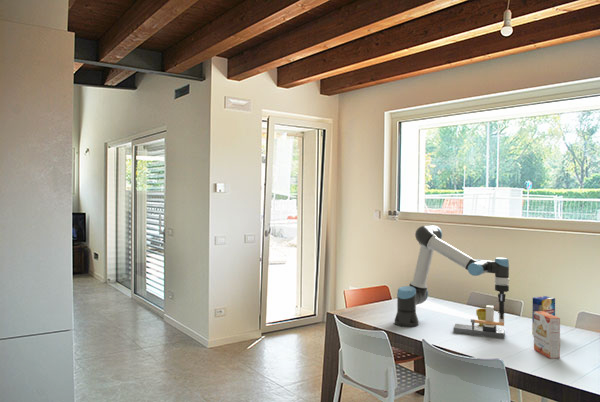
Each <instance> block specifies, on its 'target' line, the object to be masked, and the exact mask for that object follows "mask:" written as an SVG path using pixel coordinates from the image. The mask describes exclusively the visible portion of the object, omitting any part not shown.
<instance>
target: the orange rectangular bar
mask: <svg viewBox="0 0 600 402" xmlns="http://www.w3.org/2000/svg"><path fill="white" fill-rule="evenodd" d="M470 323H471V325H472V329H474V326H475V324H479V323H482V324H491V325H496V326H501V327H502V326H503V327H505V322H504V323H502V322H499V321H494V322H493V321H484V320H478V319H475V318H471V319H470Z"/></svg>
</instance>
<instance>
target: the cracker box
mask: <svg viewBox="0 0 600 402" xmlns="http://www.w3.org/2000/svg"><path fill="white" fill-rule="evenodd" d="M533 349H534V351H536V352H538V353H539V354H541V355H542V356H545V357H547V359H560V358H561V318H560V317H558V316H556V315H555V316H554V315H551V314H549V313H546V312H544V311H535V312H534V335H533Z"/></svg>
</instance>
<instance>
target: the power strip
mask: <svg viewBox="0 0 600 402" xmlns="http://www.w3.org/2000/svg"><path fill="white" fill-rule="evenodd" d="M505 332H506V329H505V328H497V325H495V327H494V328H493V327H485V325H484V324H483V327H482V326H480V325H479V326H478V325H474V329H472V324H462V323H461V324H460V323H455V324H454V325H453V333H455V334H462V335H470V336H476V337H477V336H478V337H486V338H493V339H501V340H503V339H505Z"/></svg>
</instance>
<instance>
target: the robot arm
mask: <svg viewBox="0 0 600 402" xmlns="http://www.w3.org/2000/svg"><path fill="white" fill-rule="evenodd" d="M442 231H443V230H441V228H440V227H439V226H437V225H435V224H434V225H433V224H428V225H422V226H419V227H418V228H417V229H416V230H415V234H414V236H415V240H416V241H417V242H418V244H419V246H420V248H419V251H418V252H419V253H418V257H417V261H416V264H415V265H416V266H415V269H414V270H415V271H414V273H413V278H412V280H411V281H410V282H409V285H405V286H401V287H399V288H397V293H396V296H397V297H396V299H397V300H396V301H397V303H396V305H397V306H396V307H397V311H396V314H395V318H394V325H396V324H397V325H396V326H398V325H399V327H403V326H404V327H405V328H406V327H407V328H413V327H415V328H416V327H418V326H419V318H418V315H417V312H416V311H417V306H418V305H420V304H423V303H424V302H426V301H427V300H428V297H429V291H428V287H429V286H428V285H427V280H428V276H429V272H430V268H431V264H432V259H433V255H434V251H435V252H437V253H438V254H440V255H442V256H444V258H447V259H448V260H450V261H452V262H453V263H455V264H456V265H458V266H460V267H461V268H462V269H465V270H467V272H468V273H469V274H470V275H471V276H472V277H473V276H474V277H477V276H481V275H483V274H486V273H487V274H494V283H495V284H494V291H496V292H499V293H498V294H497V297H498V304H499V305H498V312H497V314H498V322H502V323H504V324H505V314H506V311H505V302H506V293H507V292H510V290H509V289H510V286H509V284H510V280H511V279H510V277H509V274H510V264H509V261H510V260H509V258H506V257H495V259H494V260H488V259H475V258H473V257H471V256H469V255H467V254H466V253H464V252H462V251H461V250H459V249H457V248H456V247H454V246H452V245H451V244H449V243H447V242H446V241H444V240H442V238H443V232H442Z"/></svg>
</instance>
